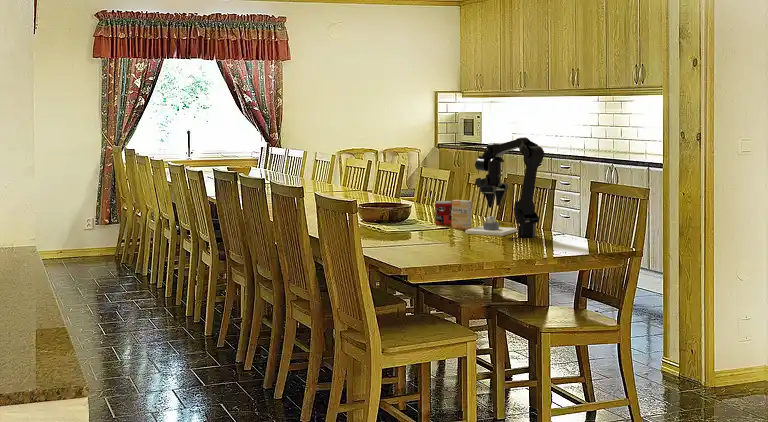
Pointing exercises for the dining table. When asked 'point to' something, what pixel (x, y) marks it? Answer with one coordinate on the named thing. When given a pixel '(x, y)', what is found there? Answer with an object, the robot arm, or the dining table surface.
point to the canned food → (443, 212)
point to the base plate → (491, 231)
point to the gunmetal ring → (491, 226)
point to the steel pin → (491, 219)
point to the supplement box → (461, 214)
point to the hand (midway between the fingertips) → (494, 206)
